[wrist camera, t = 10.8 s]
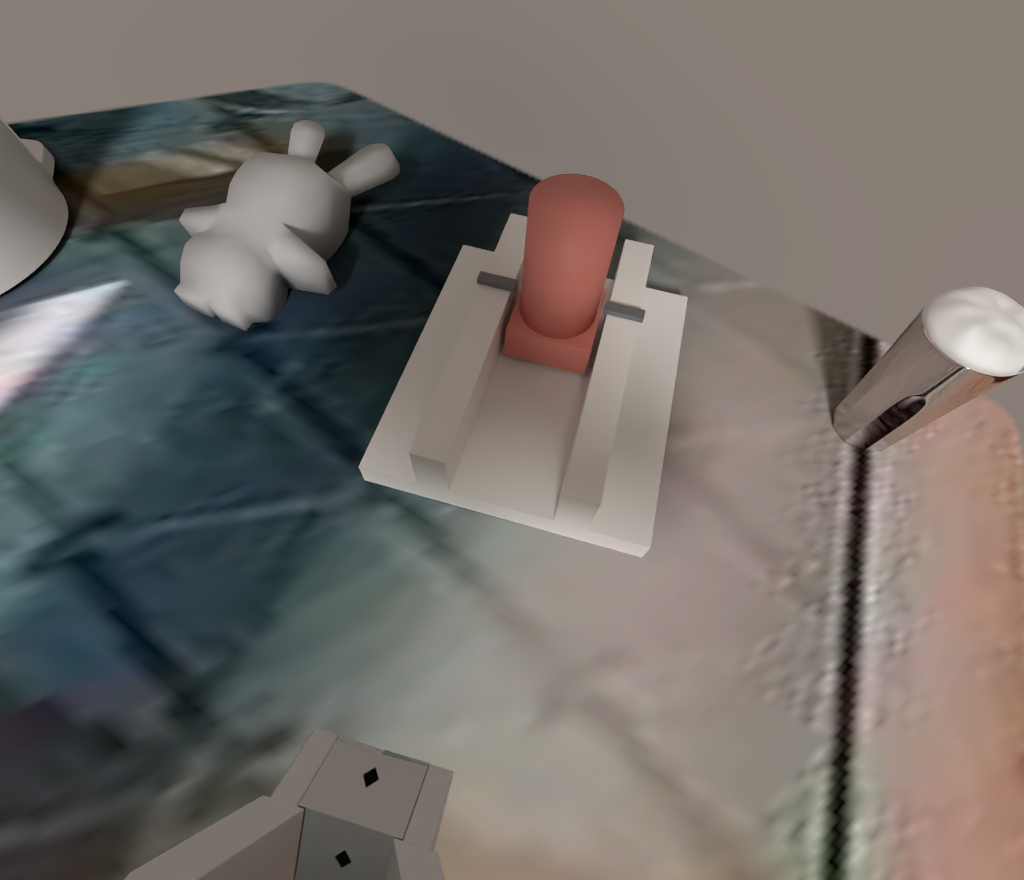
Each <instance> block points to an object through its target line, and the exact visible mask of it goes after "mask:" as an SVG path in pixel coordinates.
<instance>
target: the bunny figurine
mask: <svg viewBox="0 0 1024 880" xmlns="http://www.w3.org/2000/svg"><path fill="white" fill-rule="evenodd" d="M324 137H325V133H324V129H323V128H322V127H321V126H320V125H319V124H318V123H316V122H314V121H308V120H302V121H299V122H297V123H294V126H293V128H292V130H291V136H290V143H289V150H288V155H284V154H275V153H266V152H257V153H255V154H254V155H253V156H251V157H250V158H249V159H247V160H246V161H245V162H244V163H243V165H242V166H241V167H240V168H239V169H238V170H237V172H236V174H235V175H234V177H233V179H232V181H231V183H230V185H229V191H228V197H227V202H226V203H223V204H218V205H213V206H204V207H195V208H186V209H185V210H184V212H183V214H182V215H181V217H180V219H179V221H180V222H181V224H182V225H183V226H184V228H185V229H186V230H187V232H188V233H189V234H190V236H191V237H192V238H191V239H190V240H189V241H188V242H187V243H186V244H185V246H184V250H183V254H182V258H181V270H180V284H179V285H178V286H177V288H176V289H175V290H174V292H175V293H176V294H177V295H178V296H179V297H180V298H181V299H182V300H183V302H184V303H185V304H186V305H187V306H188V307H189V308H190V309H193V310H195V311H198V312H200V313H203V314H205V315H207V316H210V317H212V318H213V317H214V316H216V315H217V316H218V317H219V318H220V319H221V321H222V322H225V323H227V324H230V325H232V326H234V327H237V328H239V329H242V330H244V331H246V330H247V329H248V328H249V327H250V326H251V324H252V323H258V322H267V321H270V320H272V319H274V318H275V317H276V316H278V315H279V314H280V312H281V311H282V309H283V308H284V306H285V304H286V302H287V295H288V288H291V289H297V290H303V291H310V292H316V293H322V294H329V293H330V292H331V291H332V290H334V289H335V288H336V287H337V285H336V283H335V281H334V279H333V277H332V274H331V272H330V270H329V268H328V266H327V264H326V261H327V260H328V259H329V258H331V257H332V256H333V254H334V253H335V252H336V251H337V249H338V248H339V247H340V246H341V244H342V242H343V240H344V239H345V237H346V235H347V233H348V226H349V215H350V204H351V197H353V196H356V195H358V194H360V193H362V192H365V191H367V190H369V189H372V188H374V187H376V186H378V185H381V184H383V183H385V182H387V181H390V180H392V179H393V178H395V177H396V176H397V175H398V174H399V173H400V165H399V163H398V162H397V160H396V158H395V156H394V155H393V153H392V151H391V150H390V148H389V147H388V146H386V145H385V144H379V143H378V144H371V145H368V146H366V147H364V148H362V149H361V150H359V151H358V152H356V153H355V154H353V155H352V156H351V157H349V158H348V159H346V160H345V161H344V162H342V163H341V164H339V165H338V166H337V167H335V168H334V169H332V170H331V171H330V172H328V173H327V172H324V171H323V170H322V169H321V168H320V167H318V166H317V165H316V164H315V161H316V158H317V155H318V153H319V150H320V148H321V145H322V142H323V140H324Z"/></svg>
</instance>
